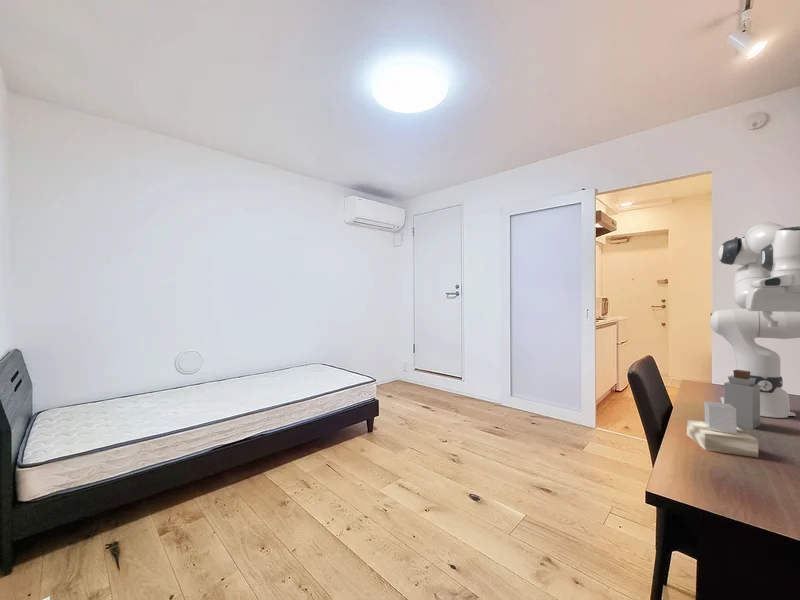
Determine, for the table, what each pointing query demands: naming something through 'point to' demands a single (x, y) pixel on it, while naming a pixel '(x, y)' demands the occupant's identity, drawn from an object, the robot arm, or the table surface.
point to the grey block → (720, 417)
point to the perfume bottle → (743, 398)
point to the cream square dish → (722, 440)
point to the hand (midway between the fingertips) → (796, 327)
